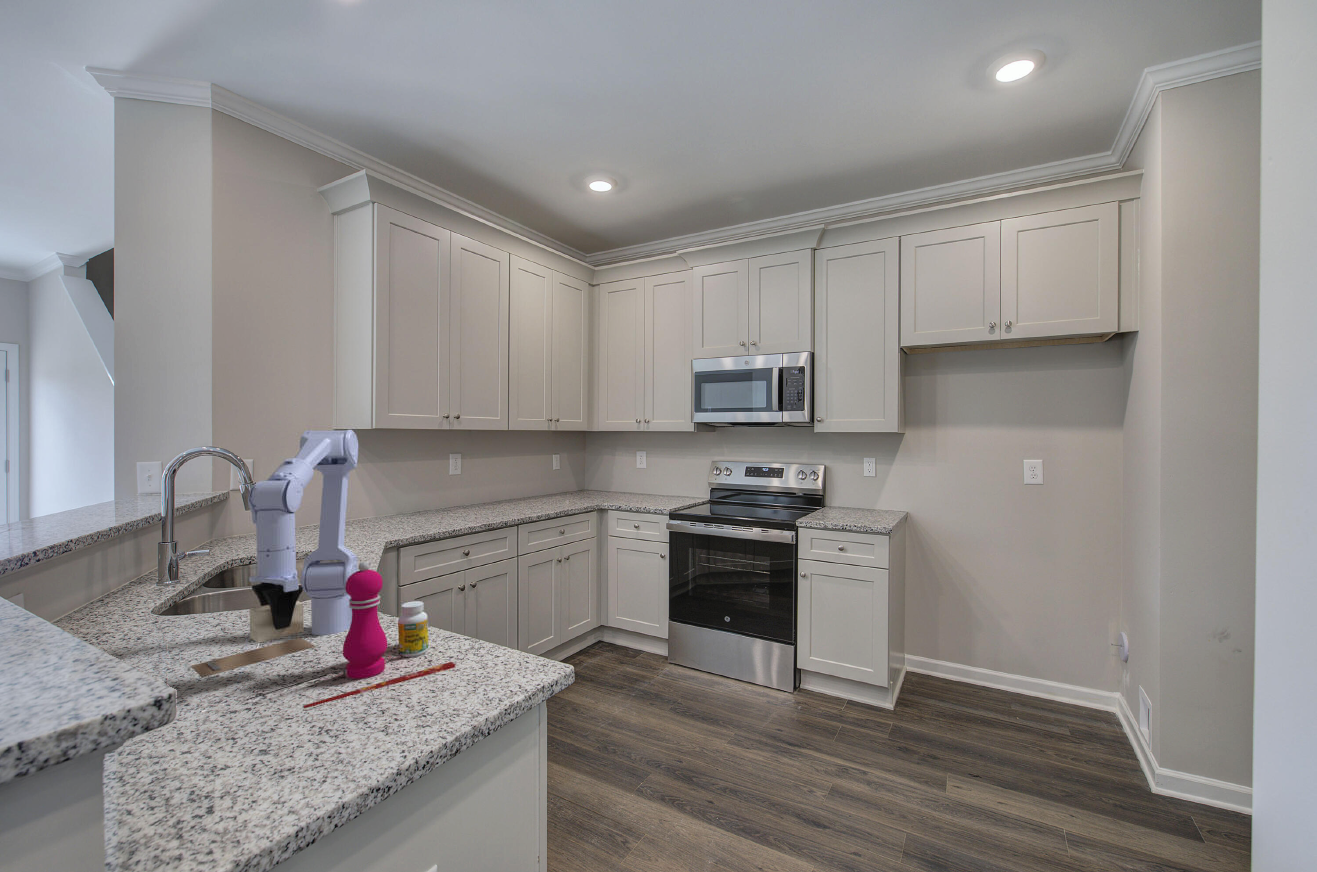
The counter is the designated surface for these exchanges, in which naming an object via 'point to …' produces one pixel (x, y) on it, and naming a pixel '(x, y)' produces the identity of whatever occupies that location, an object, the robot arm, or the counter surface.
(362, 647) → the pepper mill
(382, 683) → the chopstick
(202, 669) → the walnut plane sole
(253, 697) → the slate mat
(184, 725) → the counter surface
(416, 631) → the supplement bottle
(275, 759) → the counter surface
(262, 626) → the cap
